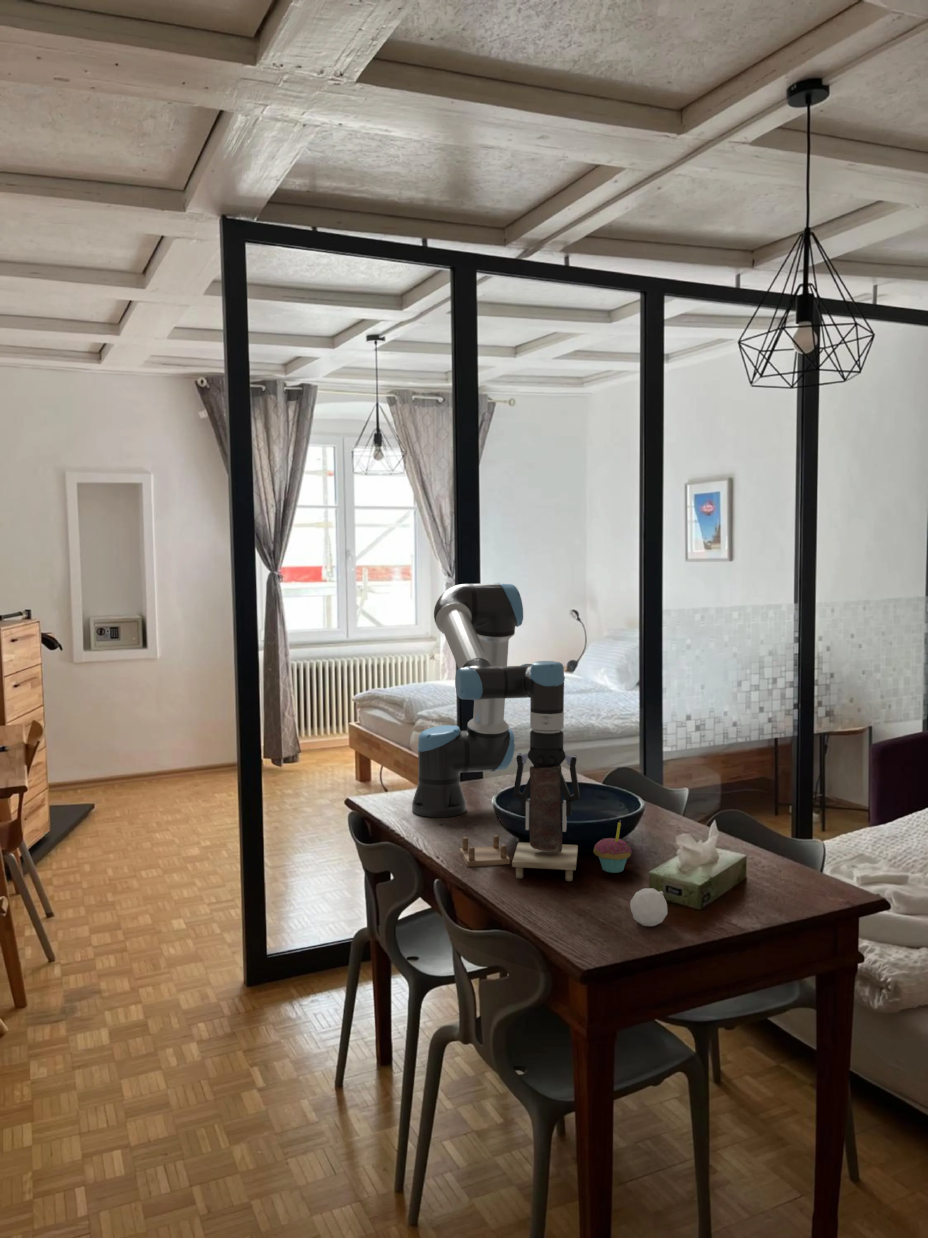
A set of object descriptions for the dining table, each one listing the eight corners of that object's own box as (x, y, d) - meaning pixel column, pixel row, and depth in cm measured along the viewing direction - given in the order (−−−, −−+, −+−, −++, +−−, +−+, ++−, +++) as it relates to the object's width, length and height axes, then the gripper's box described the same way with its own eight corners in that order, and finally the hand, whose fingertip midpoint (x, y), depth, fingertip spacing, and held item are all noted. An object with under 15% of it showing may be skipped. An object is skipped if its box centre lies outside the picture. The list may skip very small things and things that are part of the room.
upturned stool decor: (459, 853, 228) (459, 837, 228) (499, 850, 230) (499, 834, 230) (467, 866, 218) (467, 849, 218) (509, 864, 220) (509, 847, 220)
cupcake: (638, 869, 217) (639, 817, 216) (617, 878, 210) (618, 825, 209) (607, 860, 222) (607, 810, 222) (585, 869, 216) (586, 818, 215)
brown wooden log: (538, 857, 211) (538, 768, 209) (523, 847, 217) (523, 761, 216) (568, 852, 214) (569, 765, 212) (552, 843, 220) (553, 759, 219)
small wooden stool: (518, 858, 224) (518, 842, 223) (577, 862, 222) (577, 845, 221) (512, 879, 210) (512, 861, 210) (575, 882, 208) (575, 865, 207)
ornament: (645, 913, 190) (670, 886, 188) (656, 940, 183) (682, 912, 181) (618, 900, 188) (643, 872, 185) (628, 927, 181) (654, 898, 179)
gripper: (499, 731, 211) (499, 831, 213) (592, 734, 208) (591, 836, 210) (503, 725, 219) (503, 822, 220) (592, 728, 215) (591, 826, 217)
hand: (546, 829), depth 215 cm, fingers open, 8 cm apart
